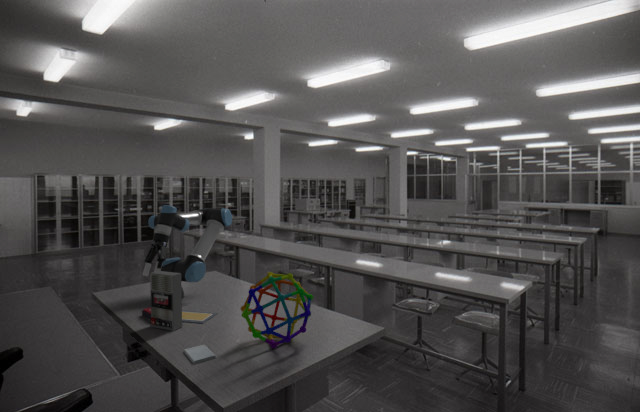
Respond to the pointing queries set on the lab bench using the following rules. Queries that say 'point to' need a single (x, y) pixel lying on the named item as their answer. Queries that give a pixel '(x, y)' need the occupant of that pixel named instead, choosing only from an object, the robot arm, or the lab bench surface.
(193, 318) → the picture board
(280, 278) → the geometric model
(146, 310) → the calculator
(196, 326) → the lab bench surface
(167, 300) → the grey instrument box
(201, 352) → the hard drive
